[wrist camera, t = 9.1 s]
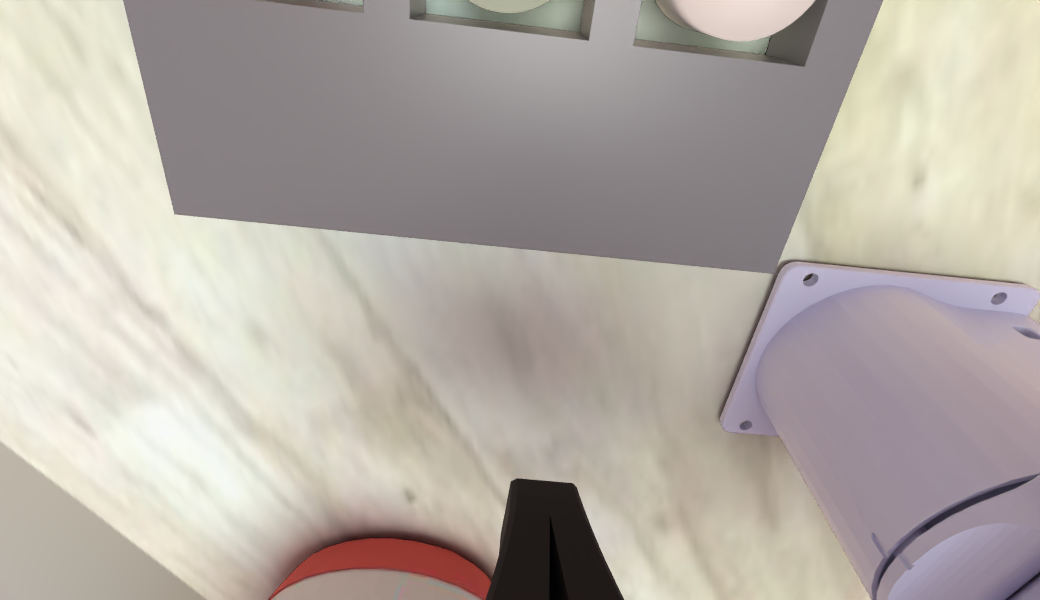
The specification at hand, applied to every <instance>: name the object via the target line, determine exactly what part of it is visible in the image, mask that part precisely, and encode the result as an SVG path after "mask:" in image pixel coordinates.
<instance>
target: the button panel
mask: <svg viewBox="0 0 1040 600" xmlns="http://www.w3.org/2000/svg"><path fill="white" fill-rule="evenodd" d="M123 2H124V6H125V10H126V14H127V18H128V22H129V27H130V31H131V35H132V39H133V43H134V47H135V52H136V56H137V60H138V64H139V68H140V72H141V77H142V81H143V85H144V89H145V93H146V97H147V101H148V106H149V110H150V114H151V118H152V122H153V126H154V131H155V135H156V139H157V143H158V147H159V151H160V156H161V160H162V164H163V168H164V172H165V176H166V181H167V185H168V189H169V193H170V197H171V201H172V205H173V210H174V214H177V215H187V216H197V217H207V218H217V219H227V220H238V221H248V222H258V223H268V224H278V225H288V226H298V227H308V228H318V229H328V230H338V231H348V232H358V233H368V234H378V235H389V236H399V237H409V238H419V239H429V240H439V241H449V242H459V243H469V244H479V245H489V246H499V247H509V248H519V249H529V250H540V251H550V252H560V253H570V254H580V255H590V256H600V257H610V258H620V259H630V260H640V261H650V262H660V263H670V264H680V265H691V266H701V267H711V268H721V269H731V270H741V271H751V272H761V273H771V274H774V272H775V269H776V267H777V264H778V262H779V259H780V257H781V254H782V252H783V249H784V247H785V244H786V242H787V239H788V237H789V234H790V232H791V229H792V227H793V224H794V222H795V219H796V217H797V214H798V212H799V209H800V207H801V204H802V202H803V199H804V197H805V194H806V192H807V189H808V187H809V184H810V182H811V179H812V177H813V174H814V172H815V169H816V167H817V164H818V162H819V159H820V157H821V154H822V152H823V149H824V147H825V144H826V142H827V139H828V137H829V134H830V132H831V129H832V127H833V124H834V122H835V119H836V117H837V114H838V112H839V109H840V107H841V104H842V102H843V99H844V97H845V94H846V92H847V89H848V87H849V84H850V82H851V79H852V77H853V74H854V72H855V69H856V67H857V64H858V62H859V59H860V57H861V54H862V52H863V49H864V47H865V44H866V42H867V40H868V37H869V35H870V32H871V30H872V27H873V25H874V22H875V20H876V17H877V15H878V12H879V10H880V7H881V5H882V2H883V0H815V1H814V2H813V4H812V5H811V6H810V7H809V8H808V9H807V10H806V11H805V12H804V13H803V14H802V15H801V16H800V17H799V18H798V19H796V20H795V21H794V22H793V23H791V24H790V25H788V26H787V27H785V28H784V29H782V30H780V31H778V32H776V33H775V34H773V35H772V36H771V39H770V43H769V46H768V49H767V52H766V55H763V54H754V53H746V52H738V51H730V50H721V49H713V48H705V47H697V46H689V45H680V44H672V43H664V42H656V41H647V40H639V39H634V38H635V33H636V28H637V23H638V18H639V12H640V7H641V2H642V0H584V6H583V13H582V19H581V26H580V32H573V31H565V30H557V29H549V28H541V27H532V26H524V25H516V24H508V23H499V22H491V21H483V20H475V19H467V18H458V17H450V16H442V15H434V14H426V0H363V6H360V5H351V4H343V3H335V2H327V1H319V0H123Z"/></svg>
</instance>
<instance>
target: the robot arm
mask: <svg viewBox="0 0 1040 600" xmlns="http://www.w3.org/2000/svg"><path fill="white" fill-rule="evenodd" d="M812 273H813V276H812V277H811V278H810V279H809V280H807V281H803V279H804V278H805V276H807V275H808V274H812ZM996 294H997V295H996ZM994 295H996V296H995V297H993V296H994ZM992 297H993V298H992ZM1039 298H1040V293H1039V292H1038V291H1037V290H1036V289H1035V288H1033V287H1031V286H1029V285H1026V284H1016V283H1006V282H996V281H986V280H977V279H967V278H957V277H947V276H937V275H927V274H917V273H907V272H897V271H887V270H877V269H867V268H858V267H848V266H838V265H828V264H818V263H808V262H791V263H788V264H786V265H785V266H784V267H783V268H782V269H781V270H780V272H779V274H778V276H777V279H776V281H775V284H774V286H773V289H772V291H771V294H770V296H769V299H768V301H767V303H766V306H765V308H764V311H763V313H762V316H761V318H760V321H759V323H758V326H757V328H756V331H755V333H754V336H753V338H752V340H751V343H750V345H749V348H748V350H747V353H746V355H745V358H744V360H743V363H742V365H741V368H740V370H739V372H738V375H737V377H736V380H735V382H734V385H733V387H732V390H731V392H730V395H729V397H728V400H727V402H726V404H725V407H724V409H723V412H722V414H721V417H720V423H721V425H722V428H723V429H724V430H725V431H727V432H731V433H743V434H755V435H768V436H779V437H780V438H781V440H782V442H783V444H784V445H785V447H786V449H787V451H788V452H789V454H790V456H791V458H792V460H793V461H794V463H795V465H796V467H797V468H798V470H799V472H800V474H801V475H802V477H803V479H804V481H805V483H806V484H807V486H808V488H809V490H810V491H811V493H812V495H813V497H814V499H815V500H816V502H817V504H818V506H819V507H820V509H821V511H822V513H823V514H824V516H825V518H826V520H827V522H828V523H829V525H830V527H831V529H832V530H833V532H834V534H835V536H836V538H837V539H838V541H839V543H840V545H841V546H842V548H843V550H844V552H845V553H846V555H847V557H848V559H849V561H850V562H851V564H852V566H853V568H854V569H855V571H856V573H857V575H858V576H859V578H860V580H861V582H862V584H863V585H864V587H865V589H866V591H867V592H868V594H869V596H870V598H871V600H1040V324H1039V323H1037V322H1036V321H1034V320H1033V319H1031V318H1030V317H1028V315H1029V313H1030V312H1031V311H1032V309H1033V308H1034V306H1035V305H1036V304H1037V302H1038V300H1039ZM744 421H747V422H745V423H742V422H744ZM485 600H624V598H623V596H622V594H621V592H620V590H619V588H618V586H617V584H616V582H615V580H614V578H613V576H612V573H611V571H610V569H609V567H608V565H607V563H606V561H605V558H604V556H603V554H602V552H601V549H600V547H599V545H598V542H597V540H596V538H595V535H594V533H593V530H592V528H591V526H590V523H589V520H588V518H587V515H586V513H585V510H584V507H583V504H582V502H581V499H580V496H579V493H578V490H577V487H576V486H575V485H574V484H573V483H563V482H552V481H540V480H528V479H515V480H513V481H511V484H510V489H509V494H508V499H507V505H506V510H505V515H504V521H503V526H502V531H501V539H500V551H499V557H498V561H497V565H496V568H495V572H494V575H493V578H492V581H491V584H490V587H489V590H488V593H487V596H486V599H485Z"/></svg>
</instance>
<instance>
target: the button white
mask: <svg viewBox="0 0 1040 600" xmlns="http://www.w3.org/2000/svg"><path fill="white" fill-rule="evenodd" d="M655 1H656V3H657V5H658V6H659V8H660V9H661V10H662V12H663V13H664V14H665V15H666V16H667V17H668V18H669V19H670V20H672V21H673V22H674V23H676V24H678V25H680V26H681V27H684V28H687V29H690V30H693V31H696V32H700V33H703V34H707V35H710V36H713V37H717V38H720V39H724V40H729V41H739V42H743V41H753V40H757V39H761V38H764V37H767V36H770V35H773V34H775V33H776V32H778V31H780V30H782V29H784V28H785V27H787V26H788V25H790V24H791V23H793V22H794V21H795V20H796V19H798V18H799V17H800V16H801V15H802V14H803V13H804V12H805V11H806V10H807V9H808V8H809V7H810V6H811V5H812V4H813V2H814V1H815V0H655Z"/></svg>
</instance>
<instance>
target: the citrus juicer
mask: <svg viewBox="0 0 1040 600" xmlns="http://www.w3.org/2000/svg"><path fill="white" fill-rule="evenodd" d="M490 584H491V580H490V579H489V578H488V577H487V575H486V574H485V573H484V572H482V571H481V570H480V569H479V568H478V567H476V566H475V565H474V564H473V563H471V562H469V561H468V560H466V559H464V558H462V557H461V556H459V555H457V554H456V553H455V552H453V551H452V550H449V549H446V548H439V547H437V546H433V545H429V544H425V543H421V542H416V541H410V540H401V539H393V538H369V539H361V540H354V541H347V542H343V543H340V544H336V545H333V546H329V547H327V548H325V549H323V550H321V551H319V552H317V553H314V554H312V555H311V556H310V557H309V558H307V559H306V560H305V561H303V562H302V563H301V564H300V565H299V566H298V567H297V568H296V569H295V570H294V571H293V572H292V573H291V574H290V575H289V576H288V577H287V578H286V580H285V581H284V582H283V583H282V584H281V585H280V586H279V587H278V589H277V590H276V591H275V592H274V593H273V594H272V595H271V597H270V598H269V599H268V600H485V599H486V596H487V593H488V590H489V587H490Z"/></svg>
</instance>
